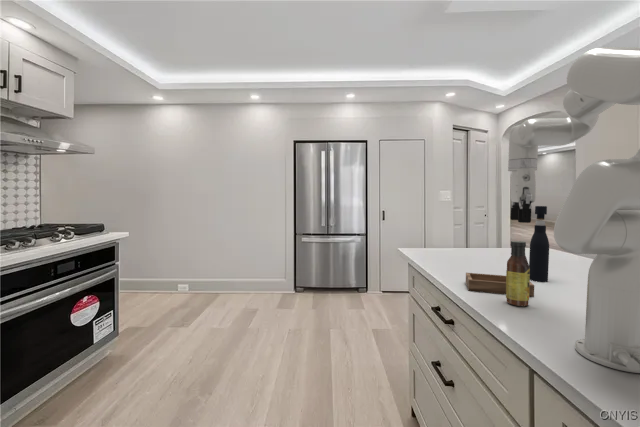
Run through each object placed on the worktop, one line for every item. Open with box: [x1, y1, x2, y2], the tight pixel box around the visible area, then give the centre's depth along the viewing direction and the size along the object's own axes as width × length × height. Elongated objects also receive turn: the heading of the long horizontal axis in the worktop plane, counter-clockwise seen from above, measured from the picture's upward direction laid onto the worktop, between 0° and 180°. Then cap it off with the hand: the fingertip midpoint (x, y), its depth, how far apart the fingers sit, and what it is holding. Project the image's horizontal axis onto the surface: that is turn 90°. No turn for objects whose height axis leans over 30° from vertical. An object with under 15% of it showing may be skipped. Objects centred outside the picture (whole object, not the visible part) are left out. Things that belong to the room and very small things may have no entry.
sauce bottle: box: [505, 240, 531, 307], centre depth 98 cm, size 7×6×20 cm
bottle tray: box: [465, 272, 535, 298], centre depth 114 cm, size 11×20×4 cm, turn 70°
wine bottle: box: [528, 205, 550, 283], centre depth 125 cm, size 6×6×30 cm
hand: (520, 221), depth 97 cm, fingers open, 9 cm apart
